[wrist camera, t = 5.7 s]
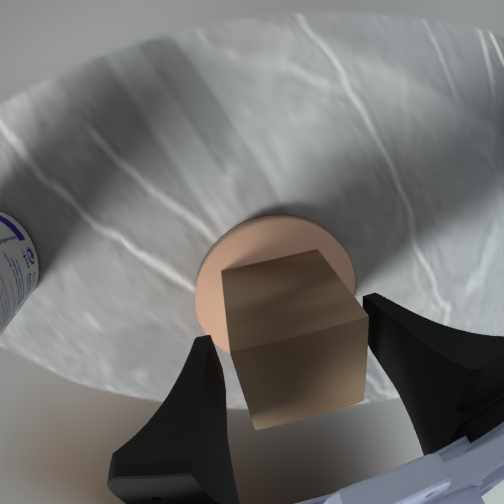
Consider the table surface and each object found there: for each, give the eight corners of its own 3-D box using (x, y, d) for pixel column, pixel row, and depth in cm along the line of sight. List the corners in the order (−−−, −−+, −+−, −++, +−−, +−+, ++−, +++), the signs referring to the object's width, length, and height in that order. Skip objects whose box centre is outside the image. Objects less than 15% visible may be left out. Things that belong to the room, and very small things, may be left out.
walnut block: (317, 248, 15) (368, 316, 10) (324, 325, 17) (363, 400, 12) (220, 271, 14) (229, 351, 10) (241, 345, 16) (255, 430, 11)
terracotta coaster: (342, 199, 15) (350, 205, 14) (349, 329, 18) (355, 339, 17) (176, 236, 15) (174, 245, 14) (217, 362, 18) (218, 374, 17)
